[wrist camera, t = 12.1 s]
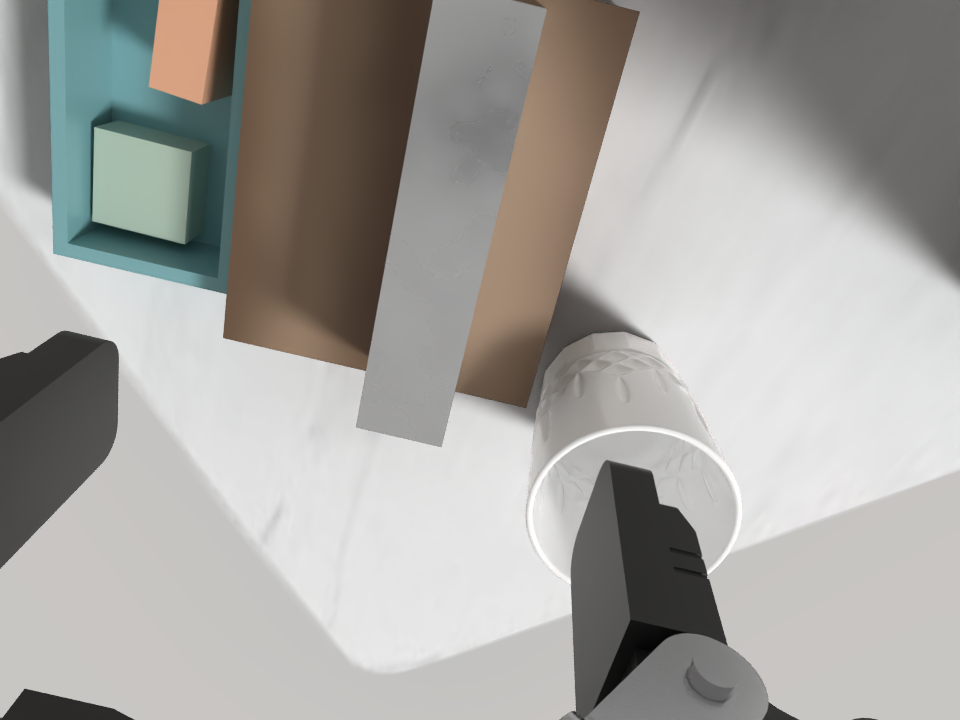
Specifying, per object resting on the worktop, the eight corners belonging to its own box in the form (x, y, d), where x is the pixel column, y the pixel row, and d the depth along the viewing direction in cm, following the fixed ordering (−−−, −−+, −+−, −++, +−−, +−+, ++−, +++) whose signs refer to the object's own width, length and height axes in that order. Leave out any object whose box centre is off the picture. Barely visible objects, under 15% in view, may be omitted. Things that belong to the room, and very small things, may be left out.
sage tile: (94, 127, 31) (118, 120, 33) (92, 221, 33) (116, 209, 34) (191, 152, 31) (210, 143, 33) (184, 244, 33) (203, 231, 35)
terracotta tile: (218, -10, 27) (162, -30, 26) (201, 104, 28) (148, 86, 28) (257, -9, 30) (207, -26, 30) (239, 93, 32) (192, 77, 32)
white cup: (508, 343, 36) (498, 455, 27) (673, 298, 35) (719, 401, 26) (553, 477, 39) (558, 617, 30) (707, 441, 38) (759, 578, 29)
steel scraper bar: (545, 7, 25) (546, 9, 20) (455, 381, 31) (441, 447, 26) (455, -15, 25) (436, -19, 20) (383, 364, 31) (355, 427, 26)
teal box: (294, -43, 30) (260, -49, 26) (262, 265, 36) (230, 294, 32) (105, -90, 30) (45, -102, 26) (102, 228, 35) (53, 253, 32)
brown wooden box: (621, 10, 30) (639, 11, 25) (527, 347, 36) (526, 408, 31) (309, -68, 30) (258, -84, 24) (270, 287, 36) (223, 338, 31)
